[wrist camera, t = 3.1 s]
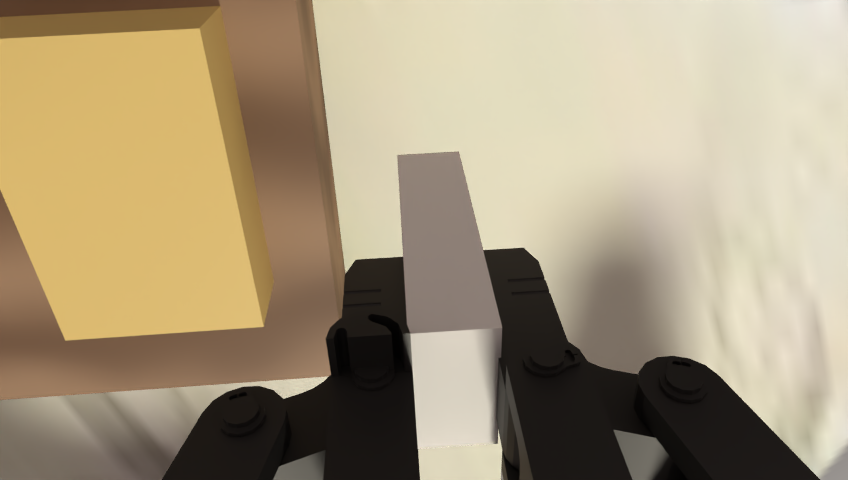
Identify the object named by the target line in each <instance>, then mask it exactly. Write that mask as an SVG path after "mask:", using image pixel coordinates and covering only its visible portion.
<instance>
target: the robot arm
mask: <svg viewBox="0 0 848 480" xmlns="http://www.w3.org/2000/svg"><path fill="white" fill-rule="evenodd" d="M397 157H398V174H399V192H400V209H401V227H402V245H403V257H393V258H377V259H361V260H355V262H354V263H353V264H352V266H351V267H350V269H349V270H348V271H347V273H346V274H345V280H344V295H343V308H342V318H340V319H339V320H338V321H337V322H336V323H335V324H333V325H332V326H331V327H330V329H329V331H328V334H327V336H326V345H327V351H328V358H329V364H330V371H331V375H330V376H329V377H328V378H327V379H326V380H325V381H324V382H322V383H321V384H319V385H318V386H316V387H315V388H313V389H311V390H308V391H306V392H304V393H301V394H298V395H295V396H292V397H289V398H285V399H283V398H282V397H281V396H279V395H278V394H277V393H276V392H275V391H274V390H271V389H267V388H264V387H260V386H252V387H241V388H238V389H235V390H232V391H229V392H226V393H225V394H223V395H222V396H220V397H218V398H217V399H215V400H214V401H212V403H211V404H210V405H209V406H208V407H207V408H206V409H205V411H204V412H203V413H202V414H201V416H200V418H199V419H198V421H197V423H196V424H195V426H194V428H193V429H192V431H191V433H190V434H189V436H188V438H187V439H186V441H185V443H184V444H183V446H182V447H181V449H180V451H179V452H178V454H177V456H176V457H175V459H174V461H173V462H172V464H171V466H170V467H169V469H168V471H167V472H166V474H165V476H164V477H163V479H162V480H420V474H419V459H418V449H427V448H441V447H455V446H469V445H484V444H498V429H499V434H500V440H501V445H502V469H501V480H820V479H819V478H818V477H817V476H816V475H815V474H814V473H813V472H812V471H811V470H810V469H809V468H808V467H807V466H806V465H805V464H804V463H803V462H802V461H801V460H800V459H799V458H798V456H797V455H796V454H795V453H794V452H793V451H792V450H791V449H790V448H789V447H788V446H787V445H786V444H785V443H784V442H783V441H782V440H781V439H780V438H779V437H778V436H777V435H776V434H775V433H774V432H773V431H772V430H771V429H770V428H769V427H768V426H767V425H766V424H765V423H764V422H763V421H762V420H761V418H760V417H759V416H758V415H757V414H756V413H755V412H754V411H753V410H752V409H751V408H750V407H749V406H748V405H747V404H746V403H745V402H744V401H743V400H742V399H741V398H740V397H739V396H738V395H737V394H736V393H735V392H734V391H733V390H732V389H731V388H730V387H729V386H728V385H727V384H726V383H725V382H724V380H723V379H722V378H721V377H720V376H719V375H717V374H716V373H715V372H713V371H712V370H711V369H710V368H708V367H707V366H706V365H703V364H701V363H699V362H696V361H694V360H691V359H688V358H682V357H676V356H667V357H657V358H655V359H653V360H651V361H649V362H647V363H645V365H644V366H643V367H642V369H641V370H640V371H639V375H637V374H632V373H626V372H620V371H614V370H610V369H606V368H602V367H599V366H597V365H594V364H592V363H590V362H588V361H587V360H586V358H585V357H584V356H583V354H582V353H581V351H580V350H579V349H578V348H577V347H575V346H574V345H572V344H571V343H569V342H568V340H567V338H566V335H565V332H564V330H563V327H562V324H561V321H560V319H559V316H558V313H557V311H556V308H555V305H554V302H553V300H552V297H551V294H550V293H549V289H548V286H547V283H546V281H545V280H544V275H543V272H542V270H541V267H540V264H539V262H538V260H536V259H535V258H534V257H533V256H532V255H531V254H530V253H529V252H528V251H526V250H525V249H524V248H513V249H496V250H483V247H482V243H481V239H480V235H479V231H478V227H477V223H476V219H475V215H474V211H473V207H472V203H471V199H470V195H469V191H468V187H467V183H466V178H465V174H464V170H463V166H462V162H461V158H460V154H459V152H443V153H425V154H408V155H397Z"/></svg>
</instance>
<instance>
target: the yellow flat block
mask: <svg viewBox="0 0 848 480" xmlns="http://www.w3.org/2000/svg"><path fill="white" fill-rule="evenodd" d="M0 190H1V192H2V195H3V197H4V199H5V202H6V204H7V206H8V209H9V211H10V213H11V216H12V218H13V220H14V223H15V225H16V227H17V230H18V232H19V234H20V236H21V239H22V241H23V243H24V246H25V248H26V250H27V253H28V255H29V257H30V260H31V262H32V264H33V267H34V269H35V271H36V274H37V276H38V278H39V281H40V283H41V285H42V288H43V290H44V292H45V294H46V297H47V299H48V301H49V304H50V306H51V308H52V311H53V313H54V315H55V318H56V320H57V322H58V325H59V327H60V329H61V332H62V334H63V336H64V339H65V341H67V340H81V339H96V338H110V337H125V336H139V335H154V334H168V333H183V332H197V331H212V330H226V329H241V328H255V327H264V324H265V319H266V315H267V310H268V306H269V301H270V297H271V293H272V288H273V284H274V279H273V274H272V269H271V264H270V258H269V253H268V248H267V243H266V238H265V233H264V228H263V223H262V217H261V212H260V207H259V202H258V197H257V192H256V187H255V181H254V176H253V171H252V166H251V161H250V156H249V151H248V146H247V140H246V135H245V130H244V125H243V120H242V115H241V110H240V104H239V99H238V94H237V89H236V84H235V79H234V74H233V68H232V63H231V58H230V53H229V48H228V43H227V38H226V33H225V27H224V22H223V17H222V12H221V7H220V6H208V7H188V8H169V9H149V10H129V11H109V12H90V13H70V14H50V15H30V16H11V17H0Z"/></svg>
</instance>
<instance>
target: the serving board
mask: <svg viewBox="0 0 848 480" xmlns="http://www.w3.org/2000/svg"><path fill="white" fill-rule="evenodd" d="M208 6H220V7H221V12H222V17H223V22H224V27H225V33H226V38H227V43H228V48H229V53H230V58H231V63H232V68H233V74H234V79H235V84H236V89H237V94H238V99H239V104H240V110H241V115H242V120H243V125H244V130H245V135H246V140H247V146H248V151H249V156H250V161H251V166H252V171H253V176H254V181H255V187H256V192H257V197H258V202H259V207H260V212H261V217H262V223H263V228H264V233H265V238H266V243H267V248H268V253H269V258H270V264H271V269H272V274H273V279H274V284H273V288H272V293H271V297H270V301H269V306H268V310H267V315H266V319H265V324H264V327H255V328H241V329H226V330H212V331H197V332H183V333H168V334H154V335H139V336H125V337H110V338H96V339H81V340H67V341H65V339H64V336H63V334H62V332H61V329H60V327H59V325H58V322H57V320H56V318H55V315H54V313H53V311H52V308H51V306H50V304H49V301H48V299H47V297H46V294H45V292H44V290H43V288H42V285H41V283H40V281H39V278H38V276H37V274H36V271H35V269H34V267H33V264H32V262H31V260H30V257H29V255H28V253H27V250H26V248H25V246H24V243H23V241H22V239H21V236H20V234H19V232H18V230H17V227H16V225H15V223H14V220H13V218H12V216H11V213H10V211H9V209H8V206H7V204H6V202H5V199H4V197H3V195H2V192H1V190H0V400H6V399H20V398H33V397H47V396H61V395H75V394H89V393H103V392H117V391H131V390H144V389H158V388H172V387H186V386H200V385H214V384H228V383H242V382H255V381H269V380H283V379H297V378H311V377H325V376H330V375H331V371H330V364H329V358H328V351H327V345H326V336H327V334H328V331H329V329H330V327H331V326H332V325H333V324H335V323H336V322H337V321H338V320H339V319H340V318H342V308H343V295H344V280H345V268H344V260H343V251H342V243H341V235H340V227H339V218H338V210H337V202H336V194H335V186H334V177H333V169H332V161H331V153H330V145H329V136H328V128H327V120H326V112H325V104H324V95H323V87H322V79H321V71H320V63H319V54H318V46H317V38H316V30H315V21H314V13H313V5H312V0H0V17H11V16H30V15H50V14H70V13H90V12H109V11H129V10H149V9H169V8H188V7H208Z"/></svg>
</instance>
